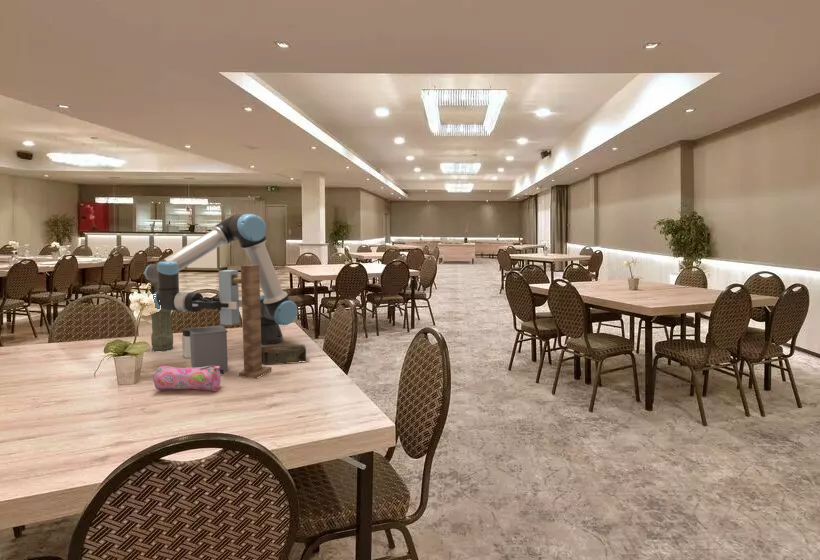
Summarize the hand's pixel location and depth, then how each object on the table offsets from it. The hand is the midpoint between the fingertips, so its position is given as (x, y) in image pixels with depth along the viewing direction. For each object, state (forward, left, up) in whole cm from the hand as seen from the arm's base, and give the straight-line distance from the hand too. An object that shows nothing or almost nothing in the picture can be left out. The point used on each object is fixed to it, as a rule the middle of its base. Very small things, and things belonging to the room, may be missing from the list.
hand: (241, 304), depth 192 cm
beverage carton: (-18, -9, -27) cm, 34 cm away
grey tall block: (+4, -4, -8) cm, 9 cm away
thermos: (+25, -55, -27) cm, 66 cm away
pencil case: (+21, +12, -27) cm, 36 cm away
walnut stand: (0, 0, -27) cm, 27 cm away
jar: (+14, -36, -27) cm, 47 cm away
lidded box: (+11, -11, -27) cm, 31 cm away
